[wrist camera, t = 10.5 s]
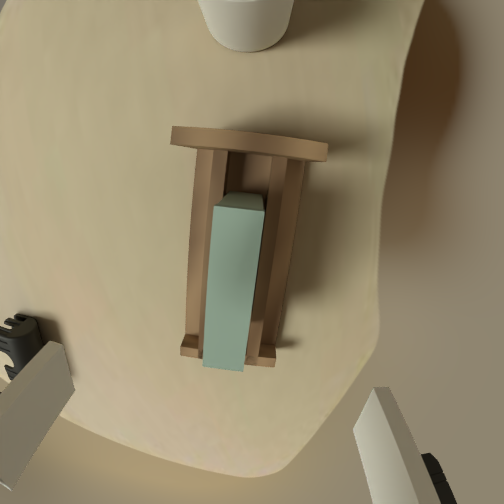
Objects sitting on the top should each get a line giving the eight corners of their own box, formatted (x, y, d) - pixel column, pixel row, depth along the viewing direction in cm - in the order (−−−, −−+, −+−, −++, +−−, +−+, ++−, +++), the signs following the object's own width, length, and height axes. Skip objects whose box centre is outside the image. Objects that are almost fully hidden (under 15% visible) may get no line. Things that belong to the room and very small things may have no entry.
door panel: (218, 307, 32) (202, 366, 22) (229, 190, 28) (213, 205, 18) (247, 311, 32) (243, 371, 22) (262, 194, 28) (264, 211, 18)
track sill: (187, 338, 34) (165, 395, 24) (201, 137, 28) (172, 126, 18) (273, 348, 34) (276, 410, 24) (305, 149, 28) (328, 143, 18)
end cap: (63, 373, 37) (42, 400, 31) (31, 363, 37) (9, 386, 31) (47, 318, 34) (20, 342, 28) (14, 309, 34) (-12, 330, 28)
